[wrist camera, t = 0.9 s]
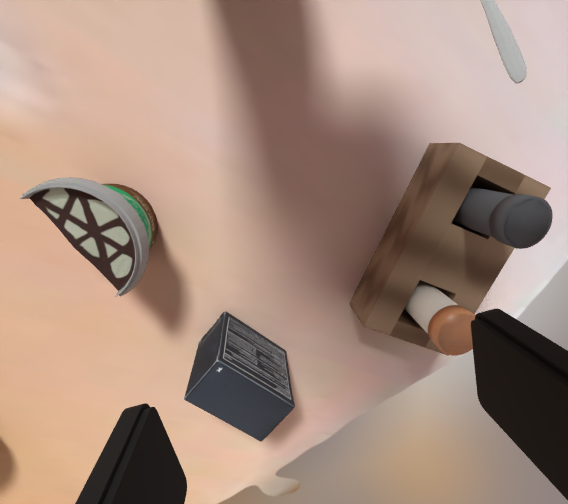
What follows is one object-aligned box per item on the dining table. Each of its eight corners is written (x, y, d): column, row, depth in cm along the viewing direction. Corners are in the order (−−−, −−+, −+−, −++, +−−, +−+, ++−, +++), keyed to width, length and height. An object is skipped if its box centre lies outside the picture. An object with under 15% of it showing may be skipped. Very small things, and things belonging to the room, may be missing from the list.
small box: (195, 344, 45) (179, 401, 35) (224, 309, 44) (216, 357, 34) (258, 383, 48) (260, 446, 38) (287, 350, 46) (297, 406, 36)
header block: (429, 143, 40) (459, 142, 34) (510, 182, 42) (551, 187, 36) (349, 303, 45) (363, 326, 39) (425, 330, 47) (449, 355, 42)
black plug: (445, 176, 41) (520, 187, 29) (477, 191, 42) (562, 208, 30) (426, 213, 42) (491, 237, 31) (458, 226, 43) (532, 255, 32)
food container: (190, 237, 41) (171, 264, 31) (150, 265, 41) (119, 301, 32) (117, 148, 37) (70, 149, 27) (74, 181, 38) (14, 193, 28)
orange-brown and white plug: (399, 264, 44) (451, 305, 32) (430, 276, 45) (491, 321, 33) (382, 296, 45) (427, 347, 33) (413, 307, 46) (466, 360, 34)
